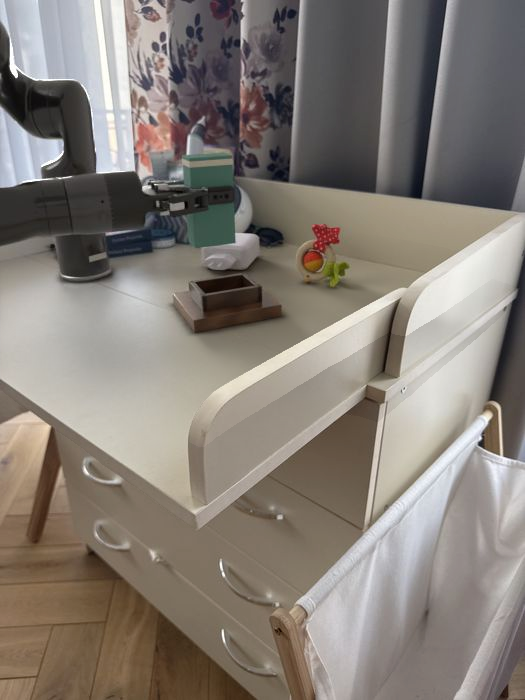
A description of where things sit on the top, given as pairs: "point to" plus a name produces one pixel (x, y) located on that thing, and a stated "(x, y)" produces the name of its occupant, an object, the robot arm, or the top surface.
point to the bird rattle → (314, 260)
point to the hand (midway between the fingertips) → (228, 191)
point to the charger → (232, 253)
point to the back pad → (219, 218)
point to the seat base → (225, 302)
